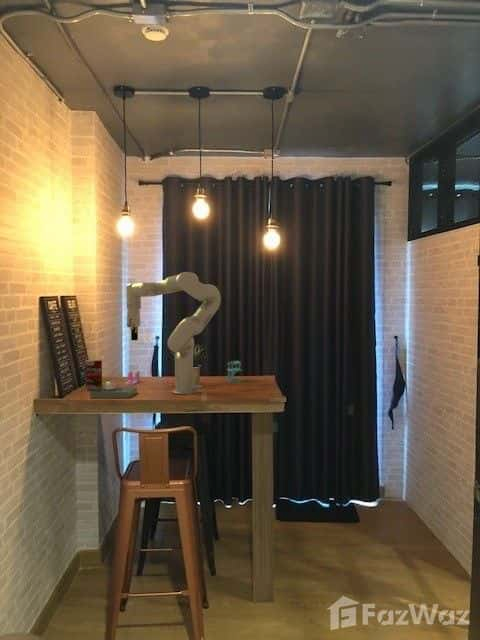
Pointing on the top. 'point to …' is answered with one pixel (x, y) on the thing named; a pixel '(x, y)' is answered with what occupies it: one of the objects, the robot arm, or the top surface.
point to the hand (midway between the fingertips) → (134, 340)
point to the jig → (113, 392)
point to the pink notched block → (130, 379)
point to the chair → (233, 371)
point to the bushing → (109, 385)
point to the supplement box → (93, 374)
